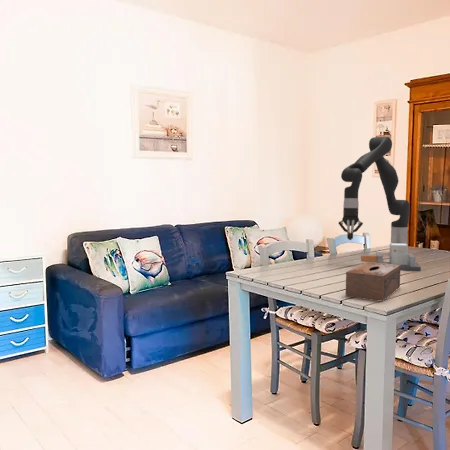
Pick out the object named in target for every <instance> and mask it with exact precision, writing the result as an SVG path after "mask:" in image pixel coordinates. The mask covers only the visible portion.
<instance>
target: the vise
mask: <svg viewBox="0 0 450 450" xmlns="http://www.w3.org/2000/svg"><path fill="white" fill-rule="evenodd" d="M373 263H376V262H373ZM383 263H384V264H390V263H389V261H383ZM421 268H422V267H421V266H420V264H419V263H418V262H416V256H415V255H414V253H412V252H408V264H407V265H401V266H400V271H405V272H406V271H408V272H409V271H411V272H412V271H413V272H421V270H422V269H421Z"/></svg>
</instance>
